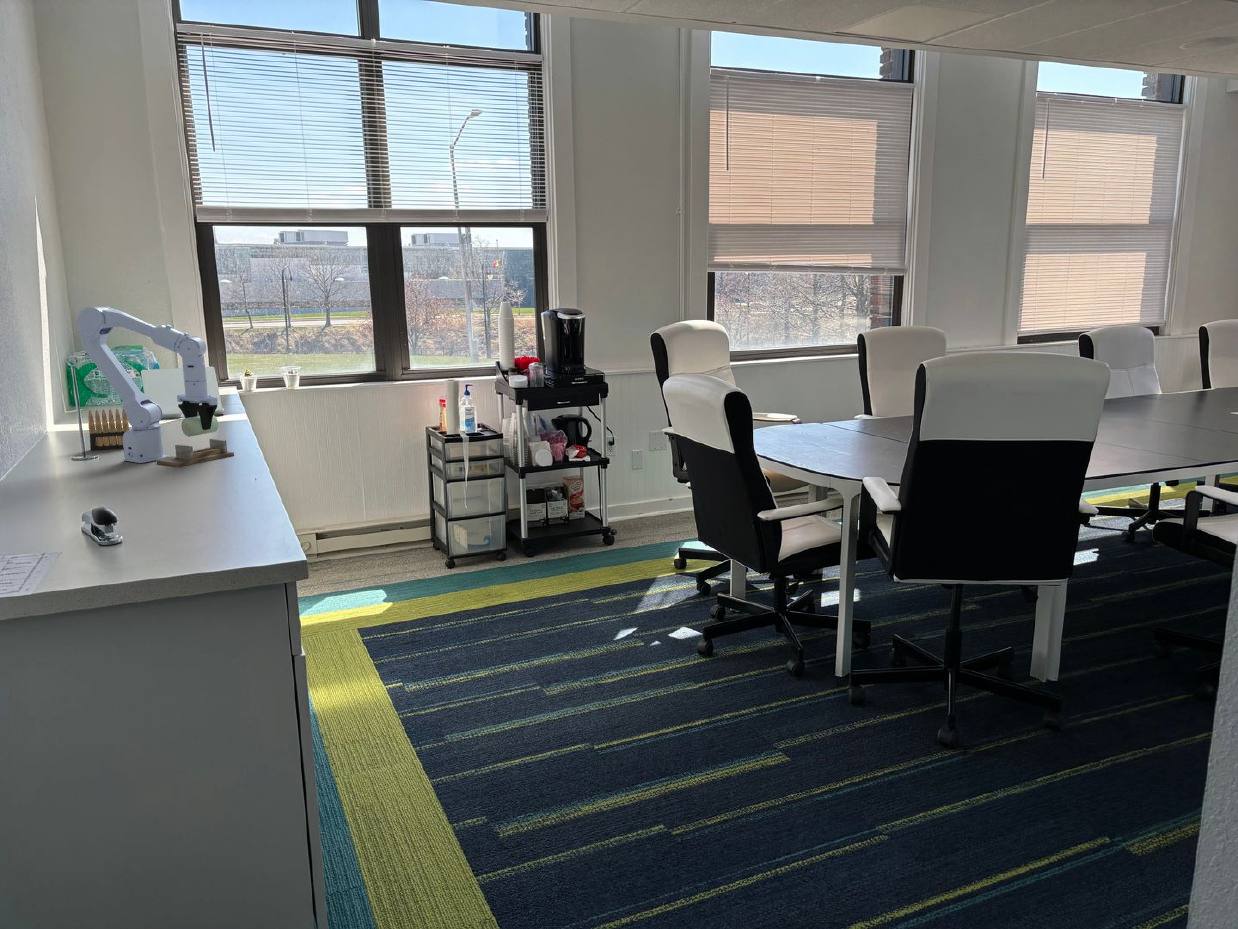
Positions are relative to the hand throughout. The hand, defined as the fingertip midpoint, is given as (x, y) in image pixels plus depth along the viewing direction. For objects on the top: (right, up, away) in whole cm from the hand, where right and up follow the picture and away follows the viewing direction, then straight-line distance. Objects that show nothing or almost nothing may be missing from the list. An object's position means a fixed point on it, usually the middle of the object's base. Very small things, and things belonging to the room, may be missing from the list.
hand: (199, 428), depth 258 cm
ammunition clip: (-33, -6, +15) cm, 37 cm away
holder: (-1, -9, 0) cm, 9 cm away
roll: (0, -2, +1) cm, 2 cm away
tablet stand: (-42, +8, +81) cm, 92 cm away
